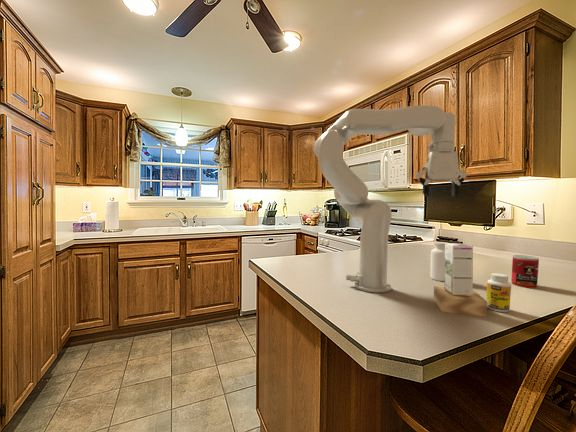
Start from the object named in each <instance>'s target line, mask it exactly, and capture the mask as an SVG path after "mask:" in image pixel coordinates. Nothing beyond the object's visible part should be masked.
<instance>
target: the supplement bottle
mask: <svg viewBox="0 0 576 432" xmlns="http://www.w3.org/2000/svg"><path fill="white" fill-rule="evenodd" d="M486 283H487V284H486V296H485V297H486V299H485V300H486V301H487V309H489V310H490V311H491V310H492V311H494V312H498V313H508V312H509V311H510V310H511V309H510V306H511V294H512V283H510V282H509V275H507V274H504V273H497V272H496V273H495V272H492V273H491V274H490V279H488V280H487V282H486Z"/></svg>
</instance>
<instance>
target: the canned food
mask: <svg viewBox="0 0 576 432" xmlns="http://www.w3.org/2000/svg"><path fill="white" fill-rule="evenodd" d="M539 263H540V259H539V257H536V256H532V255H524V254H514V255H512V264H511V285H514V286H515V287H516V286H517V287H522V288H527V289H528V288H529V289H535V288H537V287H538V278H539V265H540V264H539Z"/></svg>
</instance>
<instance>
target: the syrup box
mask: <svg viewBox="0 0 576 432" xmlns="http://www.w3.org/2000/svg"><path fill="white" fill-rule="evenodd" d="M447 243H448V244H446V243H445V281H444V286H443V287H445V288H444V289H445V290H446V291H448V292H449V293H451V294H453V295H465V296H472V295H473V290H474V289H473V288H474V287H473V286H474V281H473V280H474V272H473V271H474V246H473V245H471V244H470V245H469V244H464V243H460V242H459V243H458V242H447Z"/></svg>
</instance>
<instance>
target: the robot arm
mask: <svg viewBox="0 0 576 432" xmlns="http://www.w3.org/2000/svg"><path fill="white" fill-rule="evenodd" d="M406 130H407V131H408V133H410V134H411V135H412V136H415V137H422V136H430V145H426V150H427V151H429V152H428V154H427V159H426V163H425V168H424V169H422V170H420V171H418V172H416V173H415V177H416V178H417V180H418V182H419V183H420V184H421V185H422V195H423V197H429V195H430V185H429V183H431V182H432V181H433V182H434V181H442V182H443V181H446V182H447V181H450V183H451V184H452V185H451V197H458V195H459V187H460V186H461V184H462V183H463V182H464V181H465V179H466V178H467V177H468V173H467V172H465V171H464V170H462V169H459V168H460V167H459V165H460V164H459V157H458V156H459V155H458V152H457V151H455V141H456V140H455V137H456V136H455V134H456V115H455V114H454V113H453V112H445V111H444V109H443V108H442V107H440V106H437V105H410V106H403V107H395V108H388V109H387V108H386V109H384V108H383V109H380V108H378V109H377V108H375V109H374V108H351V109H348V110H346V111H345V112H344V113H343V114H342V115H341V116H340V117H339V118H338V119H337V120H336V121H335V122H334V123H333V125H331V126H330V127H329V128H328V129H327V130H326V131H325V132H324V133H322V134H321V135H320V136H319V137H318V138H317V139H316V140H315V141H314V144H313V153H314V155H315V157H317V158H318V166H319V169H320V172H321V173H322V175H323V177H324V178H325V179H326V180H327V182H328V183H329V184H330V185H331V187H332V188H334V190H333V194H334V198H335V200H336V202H337V203H338V204H339V205H340V206H341V207H342V208H343V209H344V210H345V211H346V212H347V214H349V216H351V217H352V218H353V220H354V221H356V222H357V223H359V224H362V226H361V231H360V237H359V239H360V240H359V271H358V272H357V274H354V275H352V274H346V275H345V278H346V281H350V282H354V287H355V288H356V289H358V290H360V291H362V292H363V291H364V292H367V293H377V294H378V293H388V292H390V291H391V290H392V286H391V284H390V283H388V257H389V256H388V255H389V232H390V226H391V221H392V215H393V213H392V209H391V207H390V206H389V204H388V203H387V202H386V201H384V200H381V199H369V198H368V196H369V189H368V186H367V185H366V184H365V182H363V180H362V179H360V177H359V176H358V175H357V174H356V173H355V172H354V171H353V170H352V169H351V167H349V165H348V164H347V163H346V162H345V159H344V157H343V149H344V146H345V145H346V144H347V143H348V142H349V141H350V140H351V138H353V137H354V136H357V135H361V136H363V135H364V136H365V135H367V136H368V135H371V136H372V135H373V136H374V135H375V136H385V135H391V134H395V133H398V132H401V131H402V132H403V131H406ZM423 174H424V178H423V177H422V175H423ZM459 176H460V177H459Z"/></svg>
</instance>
